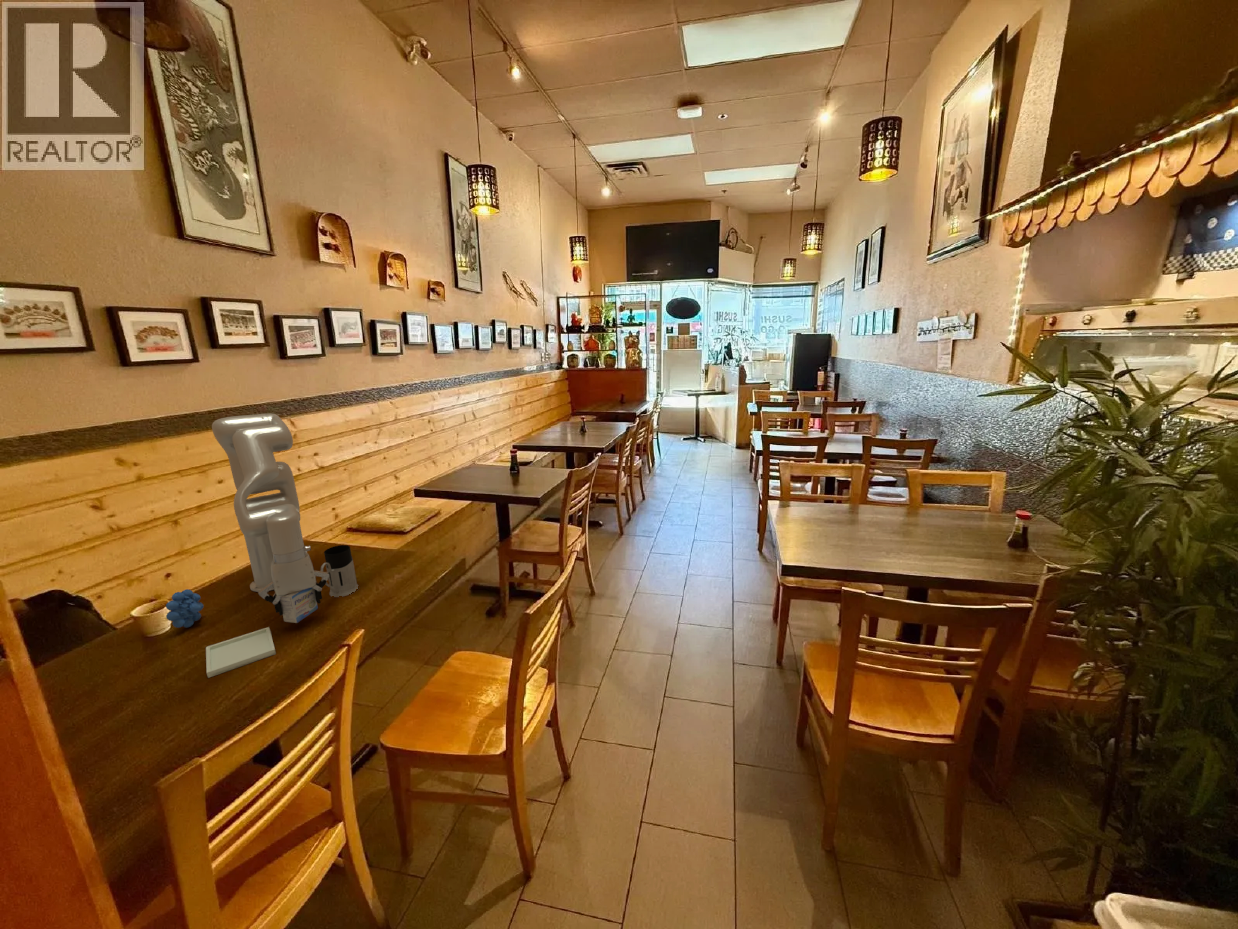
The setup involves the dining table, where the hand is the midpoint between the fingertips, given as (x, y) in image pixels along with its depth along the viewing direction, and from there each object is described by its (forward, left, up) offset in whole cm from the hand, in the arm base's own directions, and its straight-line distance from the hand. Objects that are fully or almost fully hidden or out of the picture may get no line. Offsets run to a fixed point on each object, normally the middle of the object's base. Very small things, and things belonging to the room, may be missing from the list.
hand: (300, 607), depth 138 cm
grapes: (-21, -25, -6) cm, 33 cm away
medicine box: (0, 0, -3) cm, 3 cm away
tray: (+5, -15, -6) cm, 17 cm away
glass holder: (-12, +12, -6) cm, 18 cm away
